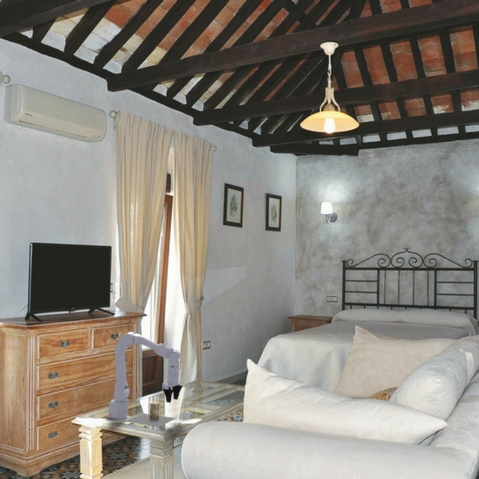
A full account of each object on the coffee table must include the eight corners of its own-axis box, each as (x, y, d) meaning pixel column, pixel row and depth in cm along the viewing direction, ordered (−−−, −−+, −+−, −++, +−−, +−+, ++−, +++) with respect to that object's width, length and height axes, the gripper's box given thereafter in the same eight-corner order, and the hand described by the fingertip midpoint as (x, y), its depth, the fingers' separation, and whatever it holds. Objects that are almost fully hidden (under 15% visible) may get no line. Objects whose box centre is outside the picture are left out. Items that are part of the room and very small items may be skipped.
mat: (124, 422, 285) (124, 421, 285) (142, 413, 302) (142, 413, 302) (159, 427, 278) (159, 426, 278) (176, 419, 295) (176, 418, 295)
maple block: (149, 417, 295) (150, 403, 295) (152, 415, 298) (153, 401, 298) (155, 418, 293) (156, 404, 294) (159, 416, 297) (159, 402, 297)
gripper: (173, 377, 284) (172, 404, 283) (186, 372, 297) (185, 399, 297) (161, 375, 287) (159, 403, 286) (174, 371, 300) (173, 397, 299)
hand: (172, 400), depth 292 cm, fingers open, 7 cm apart
